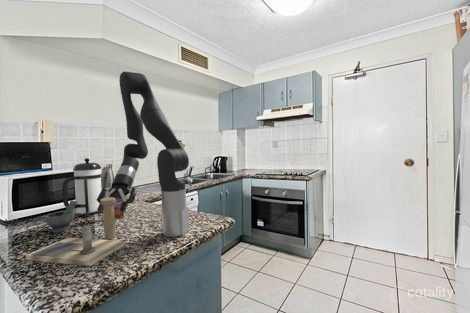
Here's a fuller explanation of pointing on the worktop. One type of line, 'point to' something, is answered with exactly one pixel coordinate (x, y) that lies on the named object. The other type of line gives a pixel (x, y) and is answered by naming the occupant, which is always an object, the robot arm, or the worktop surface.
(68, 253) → the plate
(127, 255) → the worktop surface
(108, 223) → the handle
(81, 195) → the coffee press
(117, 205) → the candy box
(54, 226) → the mortar and pestle
